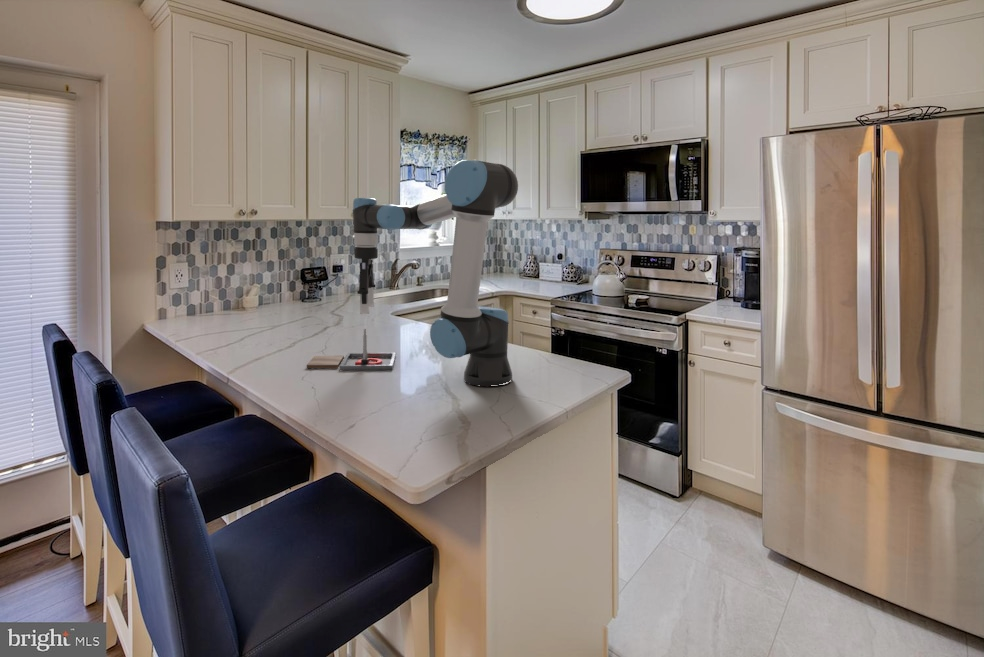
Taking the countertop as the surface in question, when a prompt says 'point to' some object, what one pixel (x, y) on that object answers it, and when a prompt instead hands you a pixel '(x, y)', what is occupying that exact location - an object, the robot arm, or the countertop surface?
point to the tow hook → (366, 360)
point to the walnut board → (325, 362)
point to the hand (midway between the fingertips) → (367, 309)
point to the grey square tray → (368, 367)
